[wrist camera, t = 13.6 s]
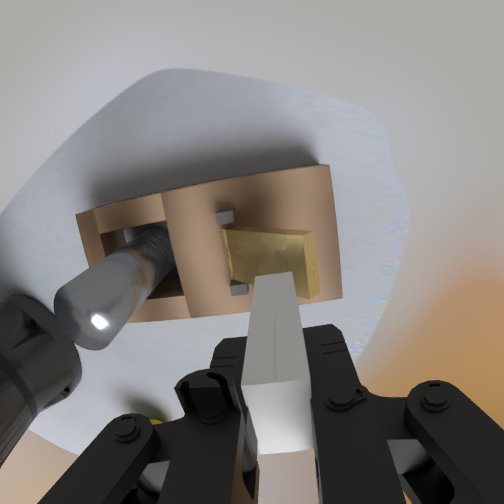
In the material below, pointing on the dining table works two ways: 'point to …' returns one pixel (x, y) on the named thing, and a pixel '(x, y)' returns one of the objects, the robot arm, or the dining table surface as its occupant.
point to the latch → (273, 256)
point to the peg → (113, 289)
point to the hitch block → (220, 236)
